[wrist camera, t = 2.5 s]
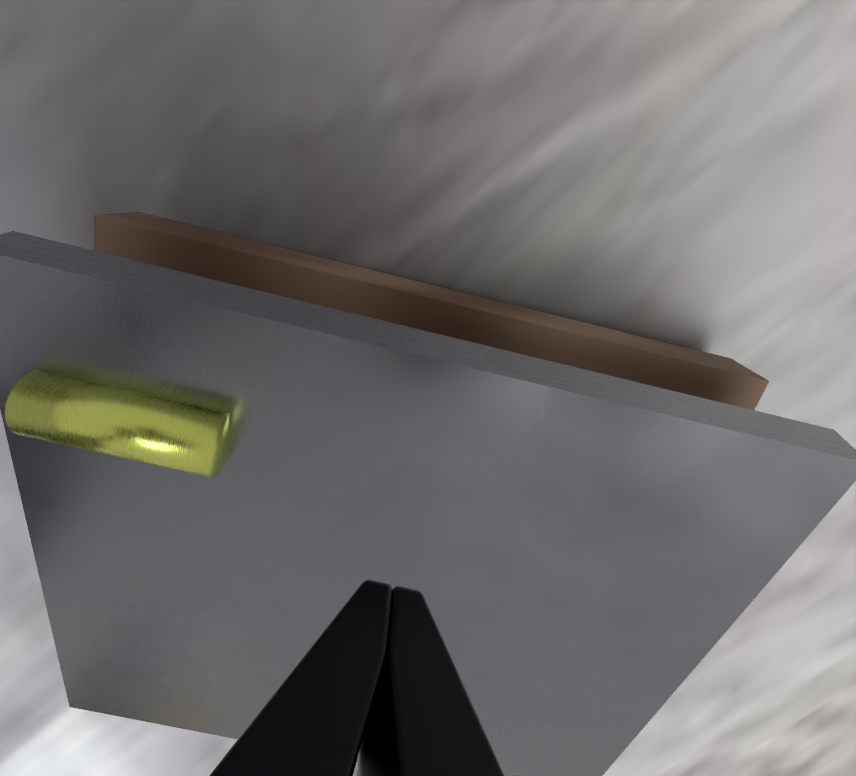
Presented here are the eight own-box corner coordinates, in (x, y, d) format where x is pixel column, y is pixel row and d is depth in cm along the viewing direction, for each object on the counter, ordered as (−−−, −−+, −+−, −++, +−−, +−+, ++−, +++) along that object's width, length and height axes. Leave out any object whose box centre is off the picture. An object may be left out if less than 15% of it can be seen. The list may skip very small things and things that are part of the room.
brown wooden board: (140, 606, 21) (94, 669, 18) (157, 210, 16) (94, 215, 13) (555, 691, 22) (571, 763, 19) (714, 348, 17) (768, 381, 14)
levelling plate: (92, 672, 18) (48, 738, 16) (12, 231, 10) (-90, 261, 9) (571, 766, 19) (582, 839, 17) (833, 429, 11) (906, 497, 10)
